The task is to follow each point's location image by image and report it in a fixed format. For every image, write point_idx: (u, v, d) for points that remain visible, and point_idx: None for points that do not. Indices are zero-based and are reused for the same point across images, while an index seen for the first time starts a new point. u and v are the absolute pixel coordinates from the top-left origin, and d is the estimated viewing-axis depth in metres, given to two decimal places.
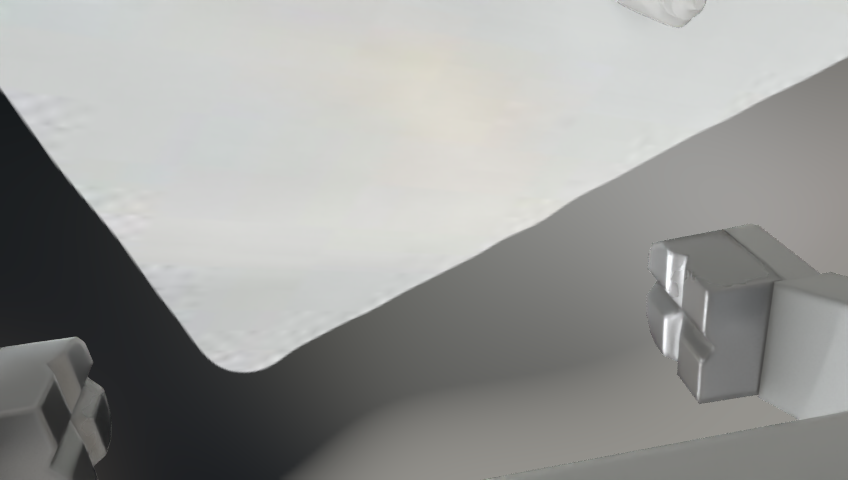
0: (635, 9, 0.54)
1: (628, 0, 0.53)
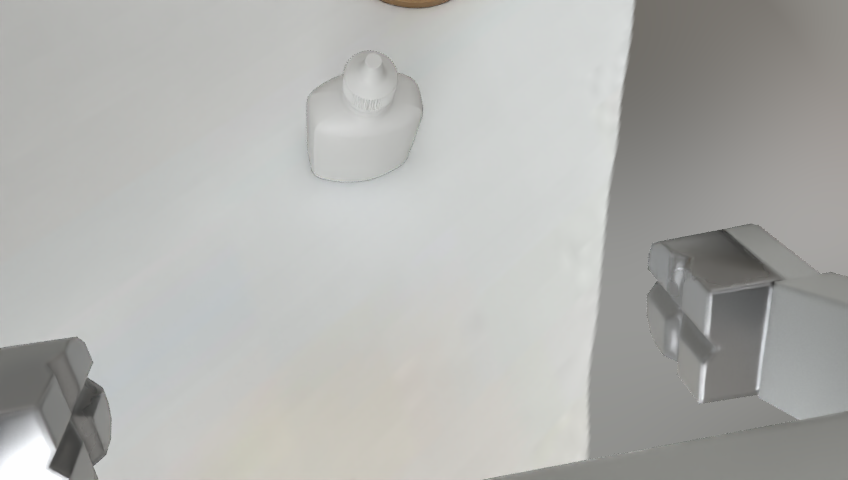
0: (378, 157, 0.39)
1: (357, 156, 0.38)
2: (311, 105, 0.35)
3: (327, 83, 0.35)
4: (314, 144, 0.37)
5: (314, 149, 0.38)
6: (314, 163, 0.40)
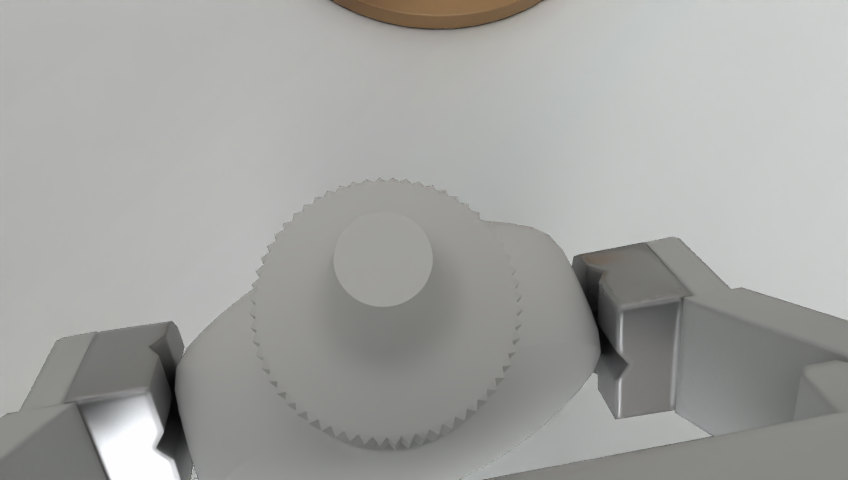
0: None
1: None
2: (184, 412, 0.09)
3: (232, 316, 0.09)
4: None
5: None
6: None
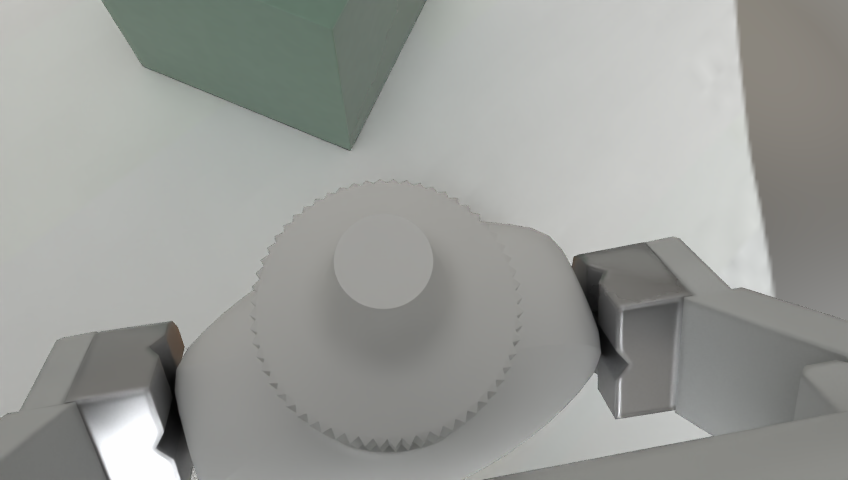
0: None
1: None
2: (183, 413, 0.09)
3: (232, 318, 0.09)
4: None
5: None
6: None
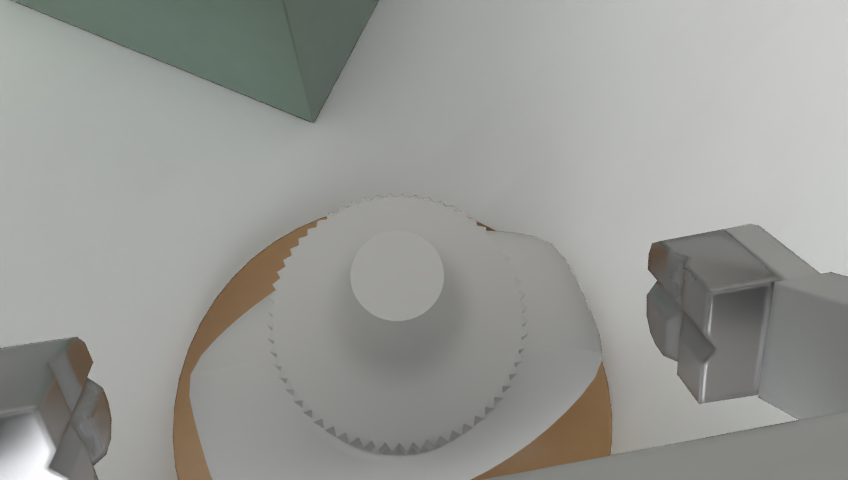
0: None
1: None
2: (198, 418, 0.09)
3: (245, 325, 0.09)
4: None
5: None
6: None
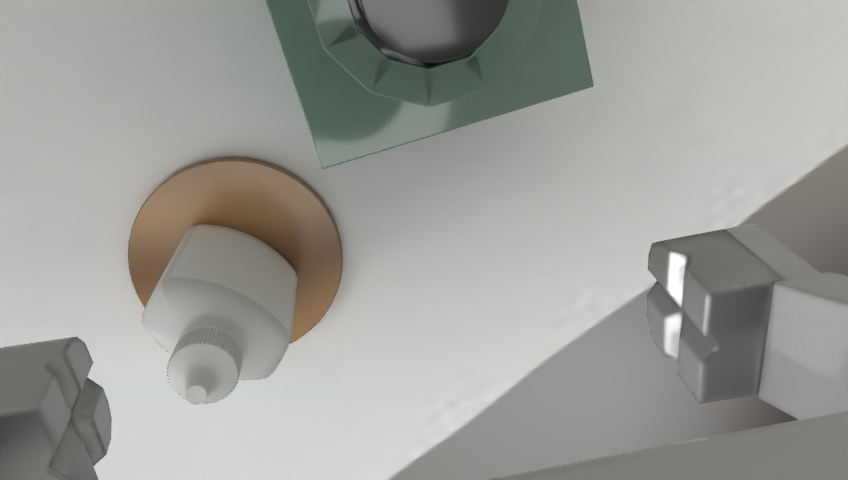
0: None
1: None
2: (152, 301, 0.28)
3: (185, 296, 0.27)
4: None
5: None
6: None
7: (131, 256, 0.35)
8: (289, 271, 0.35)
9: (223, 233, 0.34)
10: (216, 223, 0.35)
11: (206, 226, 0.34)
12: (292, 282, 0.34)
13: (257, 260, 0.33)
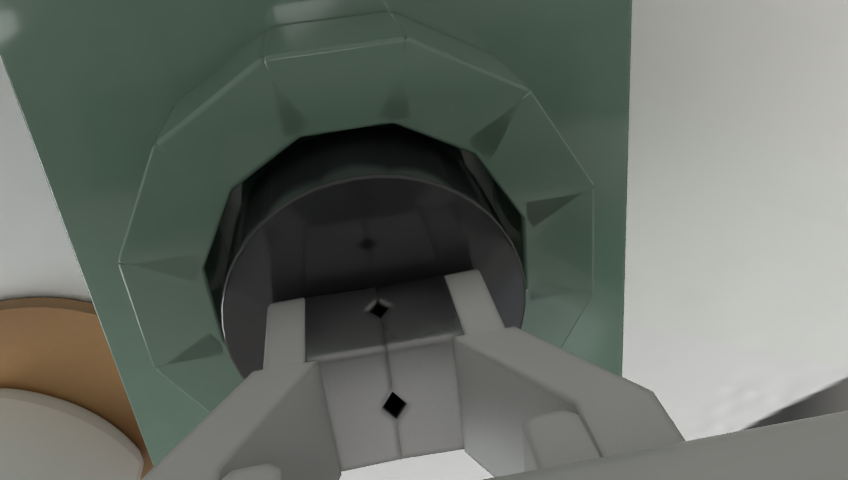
0: None
1: None
2: None
3: None
4: None
5: None
6: None
7: None
8: (129, 466, 0.24)
9: (31, 413, 0.23)
10: (27, 386, 0.24)
11: (7, 396, 0.23)
12: None
13: (73, 474, 0.22)
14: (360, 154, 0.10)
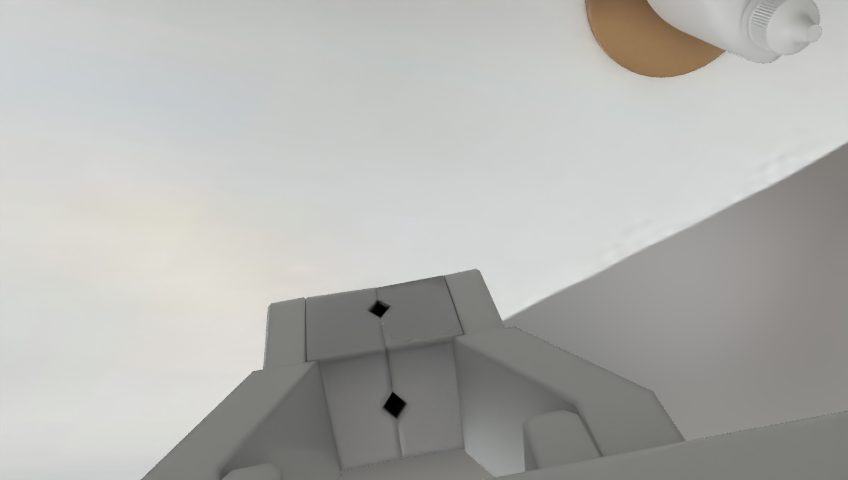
0: (697, 35, 0.37)
1: (688, 22, 0.36)
2: None
3: None
4: None
5: None
6: None
7: None
8: None
9: None
10: None
11: None
12: None
13: None
14: None
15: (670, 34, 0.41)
